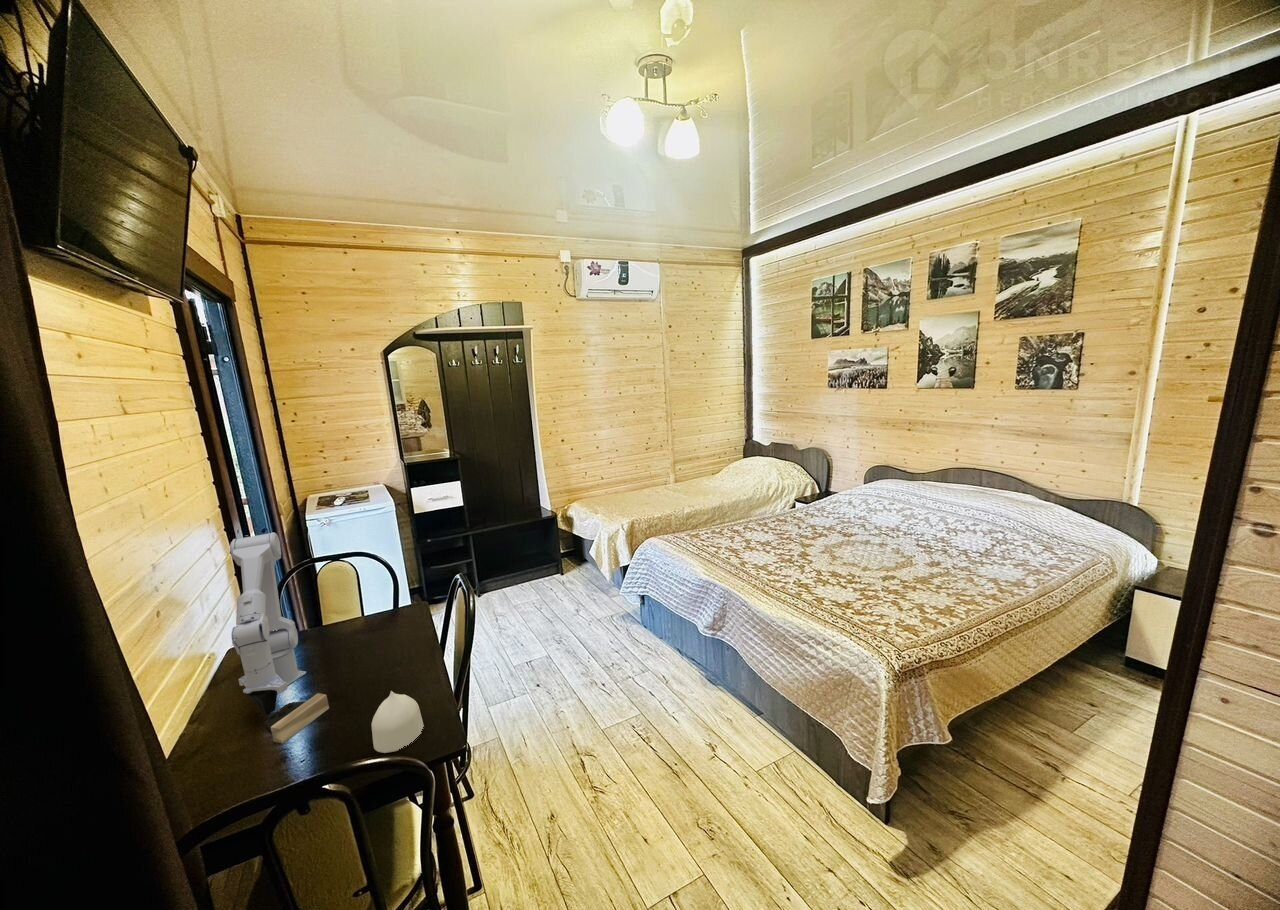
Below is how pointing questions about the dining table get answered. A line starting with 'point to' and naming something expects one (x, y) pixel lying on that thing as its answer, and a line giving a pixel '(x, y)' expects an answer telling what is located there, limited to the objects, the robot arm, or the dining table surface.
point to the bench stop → (299, 718)
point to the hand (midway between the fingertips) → (269, 712)
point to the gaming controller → (282, 713)
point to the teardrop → (396, 723)
